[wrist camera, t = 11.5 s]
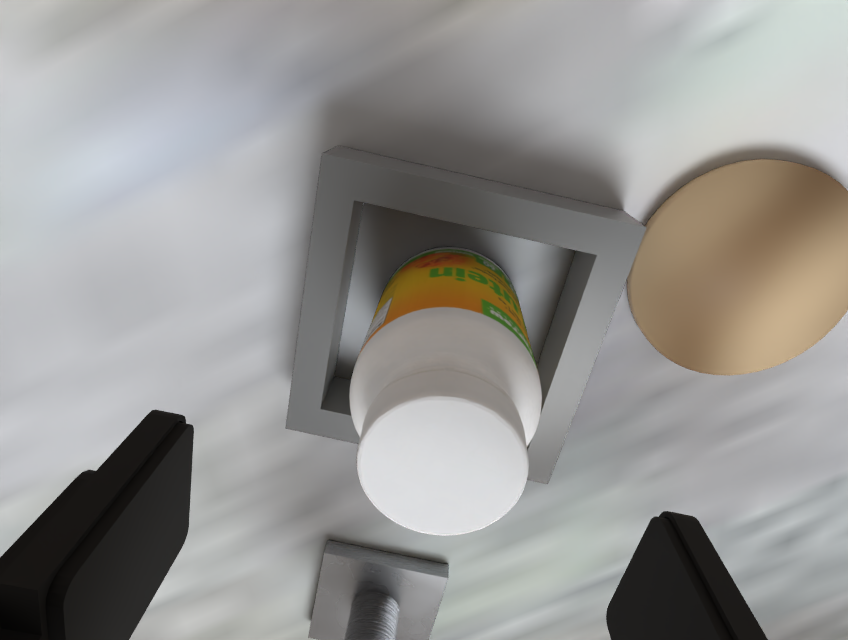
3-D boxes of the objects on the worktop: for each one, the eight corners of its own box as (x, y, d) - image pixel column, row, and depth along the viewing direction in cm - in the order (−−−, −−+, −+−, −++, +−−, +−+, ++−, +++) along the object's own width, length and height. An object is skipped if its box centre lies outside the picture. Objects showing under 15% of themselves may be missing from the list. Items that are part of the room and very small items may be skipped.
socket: (624, 210, 19) (646, 227, 17) (539, 445, 23) (547, 484, 21) (338, 145, 19) (321, 153, 17) (302, 394, 23) (285, 428, 21)
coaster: (902, 188, 19) (916, 190, 18) (791, 386, 22) (799, 394, 21) (676, 135, 18) (683, 136, 18) (597, 343, 21) (601, 350, 21)
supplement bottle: (543, 278, 21) (608, 424, 12) (481, 390, 23) (495, 587, 14) (412, 220, 20) (375, 326, 11) (361, 340, 22) (294, 512, 13)
